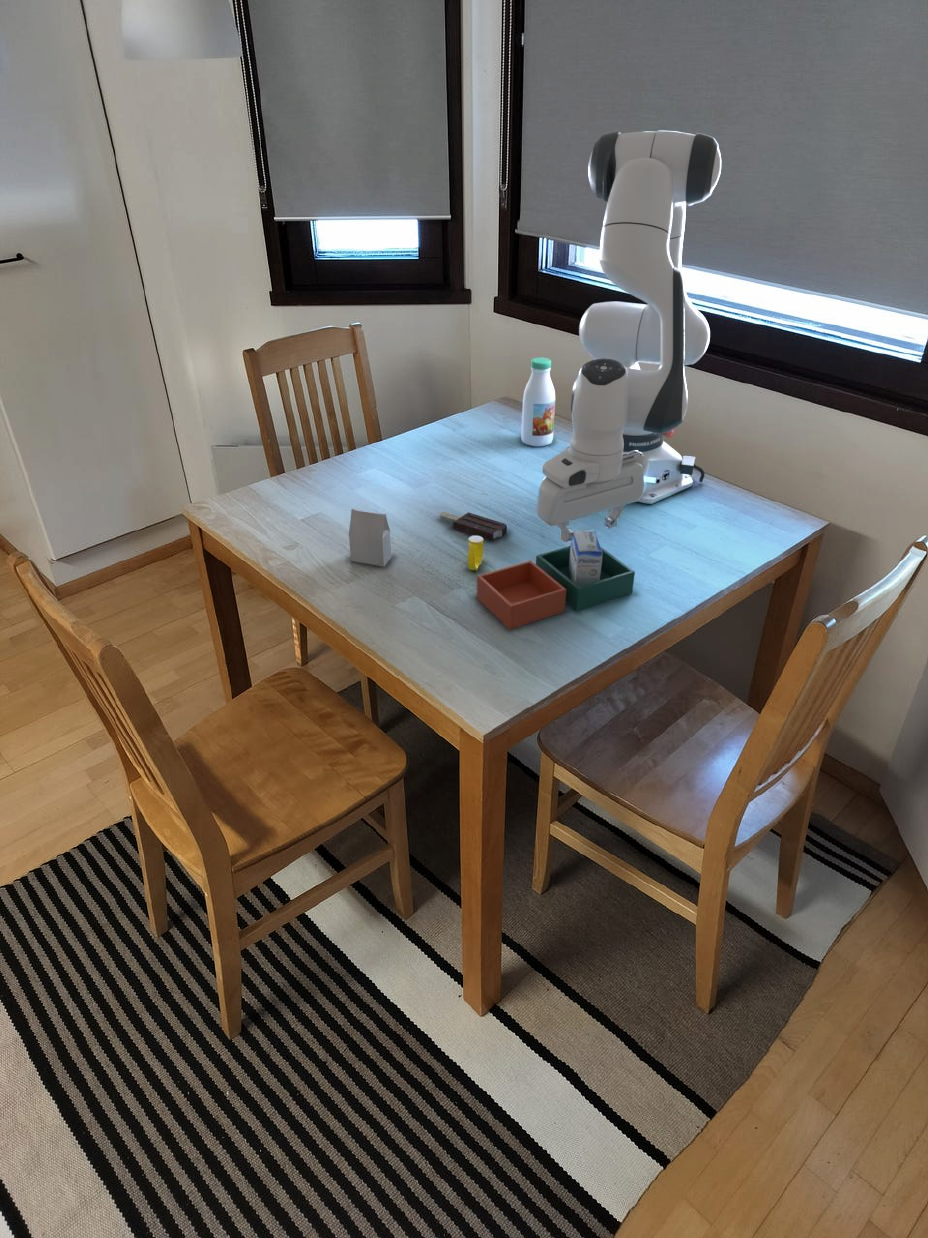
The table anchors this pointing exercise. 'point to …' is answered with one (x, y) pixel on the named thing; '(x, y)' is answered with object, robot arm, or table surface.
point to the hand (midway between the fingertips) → (588, 533)
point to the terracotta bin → (521, 594)
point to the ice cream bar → (477, 525)
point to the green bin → (611, 585)
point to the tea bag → (369, 538)
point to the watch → (475, 552)
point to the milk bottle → (538, 405)
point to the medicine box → (585, 558)
